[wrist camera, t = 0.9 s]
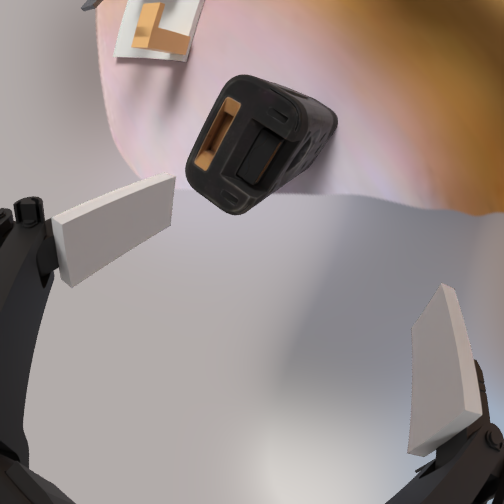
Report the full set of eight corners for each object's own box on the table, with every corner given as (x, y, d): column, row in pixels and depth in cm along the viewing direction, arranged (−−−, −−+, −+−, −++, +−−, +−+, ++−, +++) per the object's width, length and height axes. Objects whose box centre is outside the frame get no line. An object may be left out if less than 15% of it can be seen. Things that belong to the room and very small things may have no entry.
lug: (180, 16, 31) (143, 3, 24) (196, 16, 31) (160, 2, 24) (169, 53, 35) (131, 47, 28) (185, 55, 34) (147, 47, 27)
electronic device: (304, 175, 37) (238, 226, 21) (267, 149, 38) (175, 179, 21) (343, 117, 32) (311, 110, 15) (303, 91, 32) (231, 65, 16)
